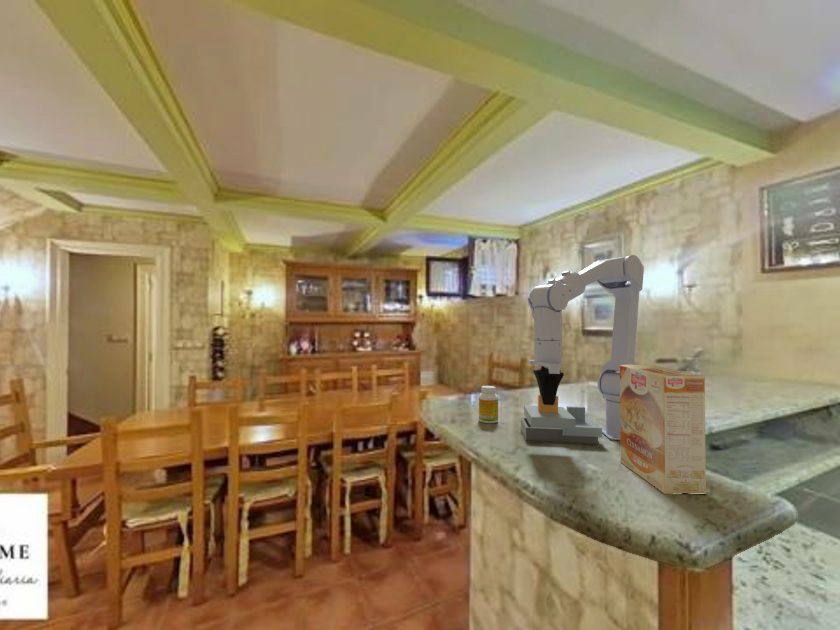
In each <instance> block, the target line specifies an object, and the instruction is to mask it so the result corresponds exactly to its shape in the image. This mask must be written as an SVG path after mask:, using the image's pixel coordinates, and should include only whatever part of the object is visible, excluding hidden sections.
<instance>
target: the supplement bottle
mask: <svg viewBox="0 0 840 630" xmlns="http://www.w3.org/2000/svg"><path fill="white" fill-rule="evenodd" d="M496 388H497V387H496V386H494V385H482V386H481V389H480V390H481V391H480V392H481V393H480V394H479V395H478V421H479V422H481V423H485V424H496V423H498V422H499V396H498V395H497V394H496V391H497V389H496Z"/></svg>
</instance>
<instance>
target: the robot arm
mask: <svg viewBox="0 0 840 630" xmlns="http://www.w3.org/2000/svg"><path fill="white" fill-rule="evenodd" d="M644 272H645V267H644V265H643V263H642V261H641V259H640V258H639V257H638V256H637V255H636V254H630V255H627V256H625V255H624V256H621V257H613V258H607V259H598V260H597V261H593V262H592V263H591V264H590V265H589V266H587V267H585V268H584V269H582V270H580V271H579V272H577V271H570V270H567V271H566V270H565V271H563V272H561V273H560V274H561V275H560V276H559V277H557V278H551V279H549V280H548V281H547V283H546V284H543V285H536V286H535V287H534V288H533V289H532V290H531V291H530V293H529V297H527V302H528V306H529V308H530V311H531V316H532V319H533V359H528V360H527V361H528V364H529V365H535V366H537V367H540V369H533V370H532V372H533V374H534V376H535V378H536V381H537V386H538V389H539V390H538V391H539V395H542V401H543V404H544V405H554V403H555V399H556V396H557V393H558V389H559V386H560V383H561V381H562V379H563V377H564V375H565V374H564V372H562V371H561V367H562V366H563V365H564V361H563V336H562V335H563V326H562V325H563V324H562V322H563V313H562V312H563V310H566V308H567V307H568V305H569V304H568V303H569V302H570V301H573V300H574V299H576V298H578V297H579V296H582V294H583V293H584V292H585V291H586V287H587V286H588V285H591V284H593V283H597V284H598V285H599V286H600V287H601V288H603V289H604V290H605V291H606V292H607V293H609V294H611V295H613V297H614V299H615V301H614V311H613V312H614V313H613V323H612V324H613V327H612V337H611V352H610V359H608V361H606V362H605V363H604V364H602V365H601V369H600V373H599V376H598V378H597V388H598V392H599V393H600V394H601V395H602V399H605V428H602V435H605V436H606V438H608V439H609V440H610V441H611V440H613V441H620V365H639V364H638V363H637V361H635V359H636V358H635V357H636V348H637V346H636V343H637V332H638V331H637V329H638V317H639V316H638V315H639V301H640V292H641V291H642V290H643V285H644V284H643V283H644Z"/></svg>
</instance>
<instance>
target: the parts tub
mask: <svg viewBox="0 0 840 630" xmlns="http://www.w3.org/2000/svg"><path fill="white" fill-rule="evenodd" d="M520 431H521V433H522V435H523V438H524V440H525V442H529V443H532V442H533V443H551V444H555V443H556V444H573V445H591V446H592V445H595V446H598V445H599V437H590V436H567V435H563V430H562V428H541V427H531V426H530V424H529V422H528V420H527V419H526V417H520Z"/></svg>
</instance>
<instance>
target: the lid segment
mask: <svg viewBox="0 0 840 630" xmlns="http://www.w3.org/2000/svg"><path fill="white" fill-rule="evenodd" d="M566 410H567V411H568V412H569V413H570V414H571V415H572V416H573V417H574V418H575V419H576V429H563V428H562V430H563V435H567V436H590V437H598V438H603V433H602V429H603V427H601V426H600V425H599V424H598V423H596V422H595V421H594V420H593V419H591V417H589V416H586V407H584V406H570V405H569V406H568V405H567V406H566Z"/></svg>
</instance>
